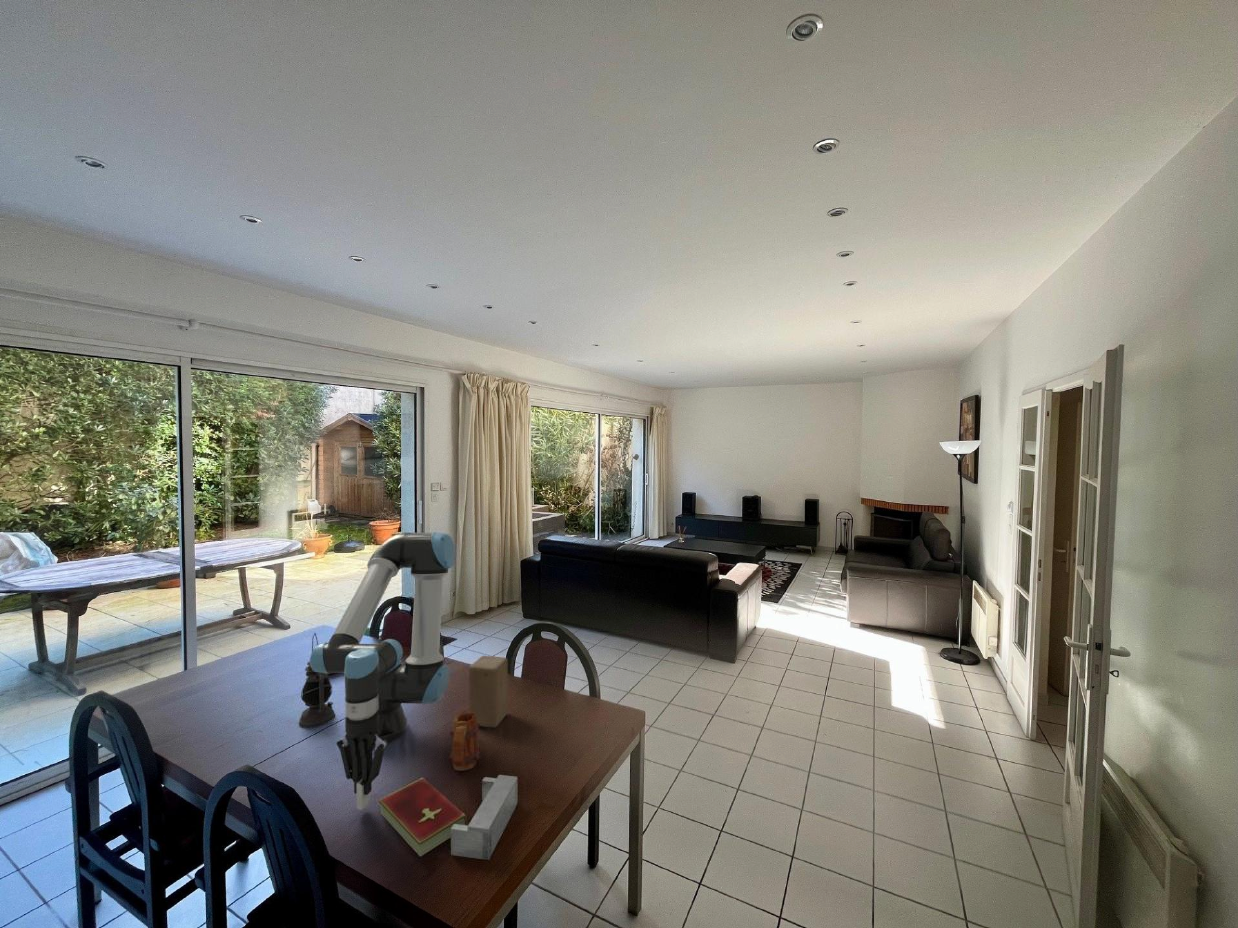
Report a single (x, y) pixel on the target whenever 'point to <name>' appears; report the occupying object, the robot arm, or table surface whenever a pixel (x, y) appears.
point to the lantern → (316, 698)
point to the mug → (464, 741)
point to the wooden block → (488, 690)
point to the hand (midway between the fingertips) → (363, 805)
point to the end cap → (486, 819)
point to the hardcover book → (421, 815)
